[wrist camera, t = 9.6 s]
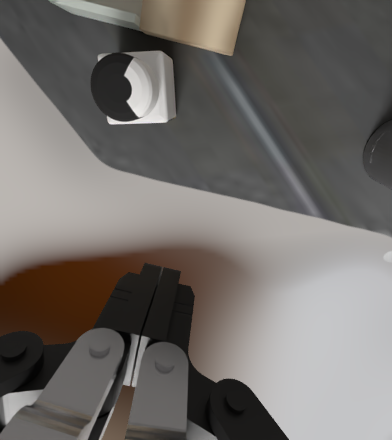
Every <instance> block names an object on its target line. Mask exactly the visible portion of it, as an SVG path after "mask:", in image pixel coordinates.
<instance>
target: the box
mask: <svg viewBox="0 0 392 440" xmlns="http://www.w3.org/2000/svg"><path fill="white" fill-rule="evenodd" d="M49 1H50V2H51V3H53V4H55V5H57V6H59V7H61V8H62V9H64V10H66V11H68V12H70V13H72V14H75V15H79V16H83V17H87V18H91V19H95V20H99V21H103V22H107V23H111V24H115V25H119V26H123V27H127V28H131V29H135V30H138V31H141V30H140V29H139V27H140V18H141V10H142V1H143V0H49Z"/></svg>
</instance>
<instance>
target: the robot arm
mask: <svg viewBox="0 0 392 440" xmlns="http://www.w3.org/2000/svg"><path fill="white" fill-rule="evenodd" d="M363 163H364V167H365V170H366V172H367V173H368V175H369V176H370V177H371V178H372V179H373V180H375V181H377V182H379V183H380V184H382V185H384V186H386V187H387V188H389V189H391V190H392V120H390V121H388V122H387V123H385V124H383V125H382V126H381V127H380V128H378V129H377V130H376V131H375V132H374V134H373V135H372V136H371V137H370V139H369V141H368V142H367V144H366V147H365V150H364V155H363ZM161 273H162V274H161ZM180 273H181V271H178V270H173V269H169V268H165V267H164V268H163V271H162V267H160V266H156V265H151V264H147V263H145V264H144V266H143V268H142V271H141V273H140V275H139V274H135V273H130V272H129V273H127V274H126V275H124V276H123V277H122V278H120V279H119V281H118V283H117V285H116V287H115V289H114V290H113V292H112V294H111V296H110V298H109V300H108V301H107V303H106V305H105V307H104V309H103V310H102V312H101V314H100V316H99V318H98V320H97V322H96V324H95V325H94V327H93V329H92V330H90V331H88V332H86V333H84V334H83V335H82V336H81V337H80V338H79V339H78V340H77V341H75V342H72V343H68V344H55V345H43V341H42V339H41V338H40V337H39V336H38V335H36V334H35V333H32V332H27V331H18V332H12V333H9V334H6V335H3V336H1V337H0V440H101V439H102V437H103V435H104V432H105V429H106V427H107V425H108V423H109V420H110V418H111V415H112V413H113V410H114V407H115V404H116V402H117V400H118V397H119V394H120V391H121V388H122V385H123V384H124V385H128V386H130V383H131V380H132V376H133V373H134V377H133V382H132V386H133V387H136V388H135V393H134V398H133V402H132V407H131V412H130V417H129V422H128V427H127V431H126V436H125V440H289V439H288V438H287V436H286V435H285V434H284V432H283V431H282V430H281V429H280V427H279V426H278V425H277V423H276V422H275V421H274V419H273V418H272V417H271V415H270V414H269V413H268V411H267V410H266V409H265V407H264V406H263V405H262V403H261V402H260V401H259V400H258V398H257V397H256V396H255V394H254V393H253V392H252V390H251V389H250V388H249V387H247V385H245V384H243V383H242V382H240V381H238V380H235V379H223V380H221V381H219V382H217V383H215V382H214V381H212V380H210V379H208V378H207V377H205V376H203V375H202V374H201V373H199V372H198V371H197V370H196V369H195V368H194V366H193V365H192V363H191V361H190V359H189V356H188V346H189V337H190V330H191V322H192V313H193V305H194V297H195V296H194V294H193V291H192V289H191V287H190V286H186V285H182V284H178V282H179V278H180ZM134 370H135V372H134Z"/></svg>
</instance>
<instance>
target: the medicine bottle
mask: <svg viewBox="0 0 392 440" xmlns="http://www.w3.org/2000/svg"><path fill="white" fill-rule="evenodd" d="M91 91H92V95H93V98H94V100H95V103H96V104H97V106H98V107H99V109H100V110H101V111H102V112H103V113H104V114H105V115H107V119H108V123H109V124H136V123H165V122H168V121H170V120H172V119H174V118H175V117H176V104H175V88H174V72H173V60H172V59H171V58H170V57H169V56H168V55H166V54H165V53H164V52H162V51H143V52H126V53H108V54H99V55H98V63H97V64H96V66H95V67H94V69H93V72H92V76H91Z"/></svg>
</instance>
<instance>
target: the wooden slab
mask: <svg viewBox="0 0 392 440" xmlns="http://www.w3.org/2000/svg"><path fill="white" fill-rule="evenodd" d="M245 2H246V0H143V1H142V10H141V18H140V27H139V29H140V30H141V31H142V32H143V33H145V34H147V35H151V36H154V37H158V38H162V39H166V40H170V41H174V42H178V43H182V44H186V45H190V46H194V47H198V48H202V49H206V50H210V51H214V52H218V53H222V54H225V55H229V56H232V54H233V51H234V47H235V43H236V38H237V34H238V30H239V26H240V22H241V18H242V14H243V10H244V6H245Z"/></svg>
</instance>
